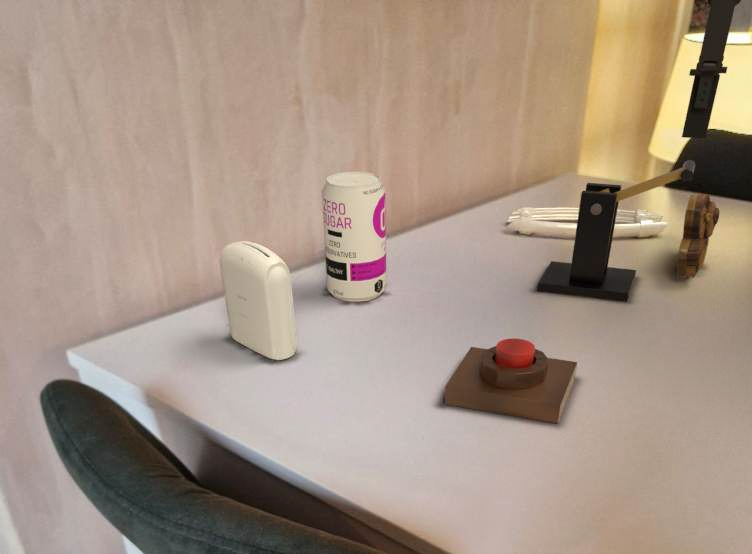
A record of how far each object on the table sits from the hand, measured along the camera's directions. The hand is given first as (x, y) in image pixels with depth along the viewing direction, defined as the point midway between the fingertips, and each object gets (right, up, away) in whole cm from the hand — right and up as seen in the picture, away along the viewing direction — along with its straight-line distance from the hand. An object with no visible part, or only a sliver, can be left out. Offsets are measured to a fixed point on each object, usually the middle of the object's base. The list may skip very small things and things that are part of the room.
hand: (693, 136), depth 92 cm
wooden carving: (+7, -10, +19) cm, 23 cm away
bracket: (-9, -13, +15) cm, 22 cm away
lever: (-4, -5, +6) cm, 9 cm away
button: (-24, -30, -11) cm, 40 cm away
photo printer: (-52, -25, +2) cm, 58 cm away
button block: (-24, -32, -9) cm, 41 cm away
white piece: (-4, +1, +34) cm, 34 cm away
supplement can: (-41, -15, +15) cm, 46 cm away
